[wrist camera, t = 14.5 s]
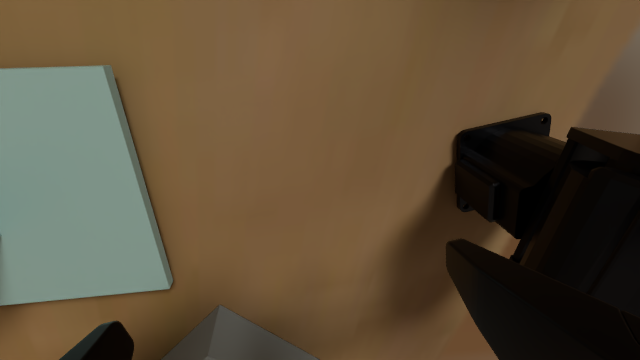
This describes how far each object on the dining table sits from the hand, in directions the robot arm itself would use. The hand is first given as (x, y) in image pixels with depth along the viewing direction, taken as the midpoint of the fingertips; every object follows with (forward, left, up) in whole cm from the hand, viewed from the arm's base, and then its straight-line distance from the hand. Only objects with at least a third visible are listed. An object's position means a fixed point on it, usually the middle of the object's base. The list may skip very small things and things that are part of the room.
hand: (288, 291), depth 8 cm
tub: (+12, +23, -13) cm, 29 cm away
